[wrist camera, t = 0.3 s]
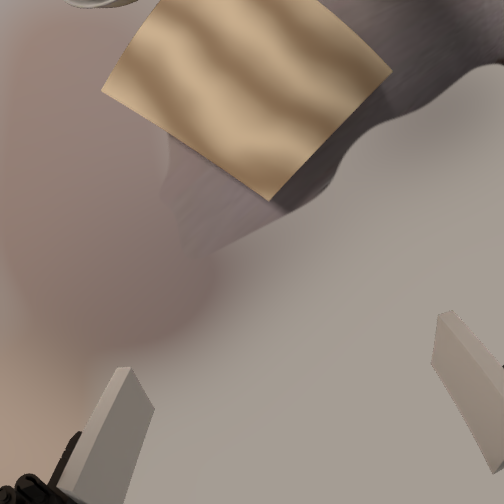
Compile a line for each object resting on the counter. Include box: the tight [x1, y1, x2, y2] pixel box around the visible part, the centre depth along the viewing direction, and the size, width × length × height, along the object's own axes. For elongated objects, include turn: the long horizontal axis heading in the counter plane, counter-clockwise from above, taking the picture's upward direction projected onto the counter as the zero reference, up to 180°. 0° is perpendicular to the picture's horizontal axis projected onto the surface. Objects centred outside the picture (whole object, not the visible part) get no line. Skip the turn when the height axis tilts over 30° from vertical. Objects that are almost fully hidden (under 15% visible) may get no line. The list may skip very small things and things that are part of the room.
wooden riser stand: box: [101, 0, 393, 201], centre depth 25 cm, size 18×20×6 cm
